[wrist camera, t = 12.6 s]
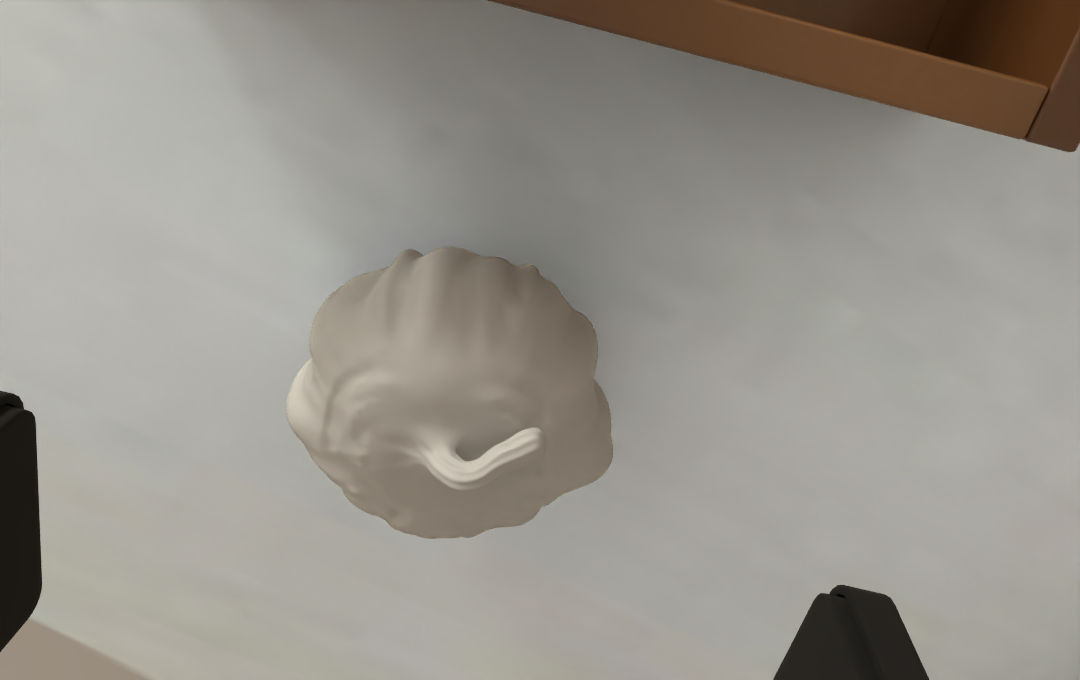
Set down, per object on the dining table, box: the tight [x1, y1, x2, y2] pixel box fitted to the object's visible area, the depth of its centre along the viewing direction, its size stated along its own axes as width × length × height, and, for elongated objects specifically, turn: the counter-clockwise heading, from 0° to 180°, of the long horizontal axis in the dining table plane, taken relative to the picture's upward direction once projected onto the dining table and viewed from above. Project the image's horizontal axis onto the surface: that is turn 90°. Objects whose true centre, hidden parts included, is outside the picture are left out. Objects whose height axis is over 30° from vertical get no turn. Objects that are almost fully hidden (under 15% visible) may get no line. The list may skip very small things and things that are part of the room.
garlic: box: [286, 247, 613, 539], centre depth 15 cm, size 6×5×5 cm
